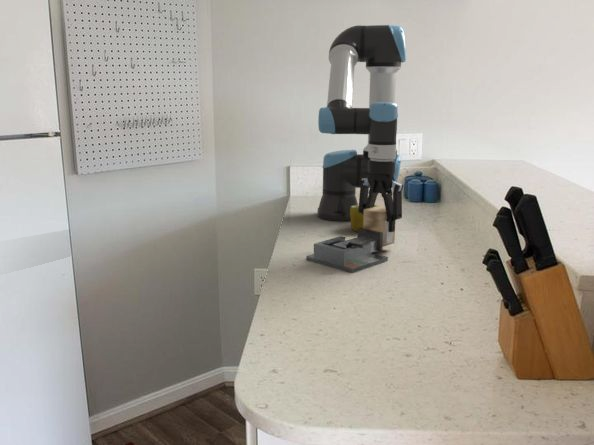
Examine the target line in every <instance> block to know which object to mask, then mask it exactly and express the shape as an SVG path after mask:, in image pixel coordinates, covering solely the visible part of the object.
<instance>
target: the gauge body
mask: <svg viewBox="0 0 594 445" xmlns="http://www.w3.org/2000/svg"><path fill="white" fill-rule="evenodd" d="M343 241H346V237H345V236H337V237H333V238H329V239H326V240H323V241H319V242H315V243H313V253H312V254H308V255H306V258H305V260H306V261H310V262H314V263H317V264H320V265H323V266H328V267H331V268H334V269H337V270H340V271H344V272H347V273H351V274H353V273H357V272H358V271H362V270H365V269H368V268H370V267H373V265H374V266H376V264H377V265H379V264H382V263H384V262H388V258H389V257H388V256H385V255H382V254H377V253H375V252H372V253H371V243H367V242H366V243H363V244H360V245H363V248H359V247H355V246H353V247H350V248H346V249H341V248H337V247H333V246H332V244H336V243H339V242H343ZM378 263H379V264H378Z"/></svg>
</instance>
